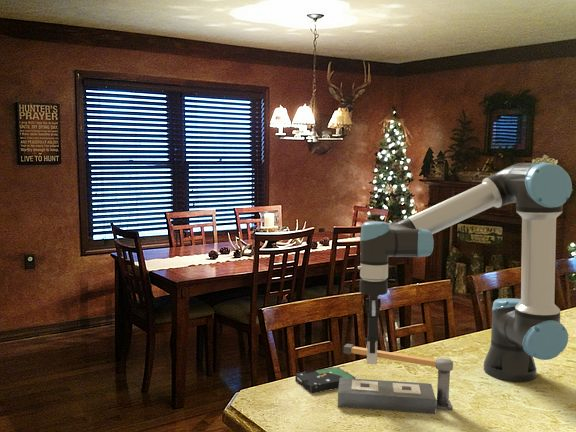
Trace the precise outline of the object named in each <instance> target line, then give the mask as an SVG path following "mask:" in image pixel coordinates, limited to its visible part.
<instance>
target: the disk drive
mask: <svg viewBox="0 0 576 432" xmlns="http://www.w3.org/2000/svg"><path fill="white" fill-rule="evenodd" d="M294 375H295V379H294V380H295V382H296V383H298V384H299V385H300V386H301V387H302V388H304V390H306V391H307V392H309V393H310V394H316V392H317V393H320V391H322V392H326V391H325V390H327V391H331V390H330V389H332V390H335V388H337V389H338V388H339V380H340V378H353V379H357V378H356V376H354V375H352V374H351V373H349V372H348V371H345V370H343V369H342V368H340V366H334V367H333V366H332V367H325V368H321V369H313V370H308V371H302V372H297V373H294Z"/></svg>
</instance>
